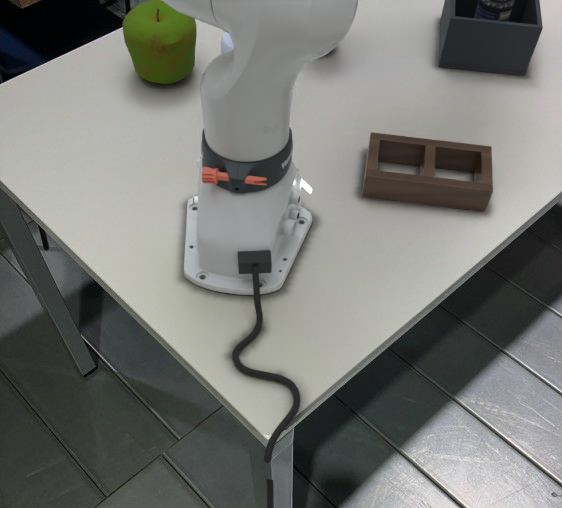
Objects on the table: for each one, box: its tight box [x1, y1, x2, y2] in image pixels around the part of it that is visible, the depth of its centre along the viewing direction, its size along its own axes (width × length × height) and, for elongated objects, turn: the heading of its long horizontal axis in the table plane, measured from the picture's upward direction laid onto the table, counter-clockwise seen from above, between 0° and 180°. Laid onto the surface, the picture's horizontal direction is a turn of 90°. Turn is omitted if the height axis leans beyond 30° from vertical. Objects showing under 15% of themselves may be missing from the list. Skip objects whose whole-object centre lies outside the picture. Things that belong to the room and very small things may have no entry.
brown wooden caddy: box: [361, 131, 494, 212], centre depth 96 cm, size 10×19×4 cm, turn 81°
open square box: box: [438, 0, 544, 77], centre depth 113 cm, size 16×16×9 cm
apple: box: [121, 0, 198, 86], centre depth 106 cm, size 12×12×11 cm
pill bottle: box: [474, 0, 514, 22], centre depth 112 cm, size 6×6×11 cm
